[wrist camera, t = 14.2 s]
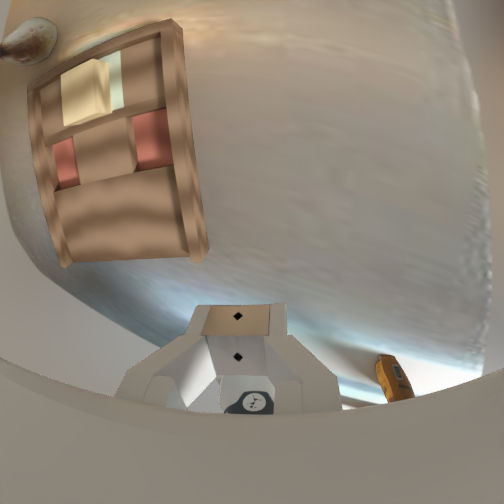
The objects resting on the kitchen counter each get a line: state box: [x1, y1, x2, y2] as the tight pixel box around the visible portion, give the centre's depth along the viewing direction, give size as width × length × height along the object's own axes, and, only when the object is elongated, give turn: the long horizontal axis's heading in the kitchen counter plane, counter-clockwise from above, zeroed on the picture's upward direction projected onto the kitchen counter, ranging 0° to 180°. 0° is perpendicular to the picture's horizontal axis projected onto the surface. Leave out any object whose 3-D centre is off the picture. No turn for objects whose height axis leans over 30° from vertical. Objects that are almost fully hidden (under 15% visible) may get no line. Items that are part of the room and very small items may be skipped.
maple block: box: [61, 59, 112, 126], centre depth 27 cm, size 8×6×4 cm
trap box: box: [27, 19, 209, 268], centre depth 33 cm, size 33×27×4 cm
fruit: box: [0, 17, 57, 66], centre depth 21 cm, size 10×9×12 cm
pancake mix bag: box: [376, 355, 415, 403], centre depth 37 cm, size 7×19×28 cm, turn 36°
